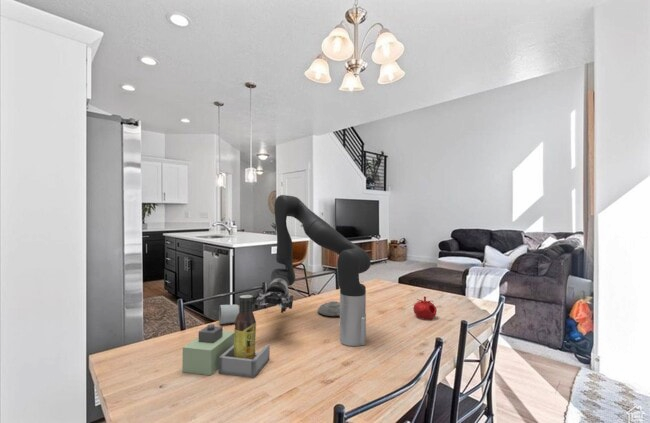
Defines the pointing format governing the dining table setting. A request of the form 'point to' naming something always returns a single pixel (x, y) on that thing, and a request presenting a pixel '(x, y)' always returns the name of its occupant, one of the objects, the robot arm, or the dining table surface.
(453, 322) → the dining table surface
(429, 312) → the red round fruit
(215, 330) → the knobbed green block
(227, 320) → the white cylinder
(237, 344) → the sauce bottle
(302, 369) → the dining table surface
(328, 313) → the flying saucer
